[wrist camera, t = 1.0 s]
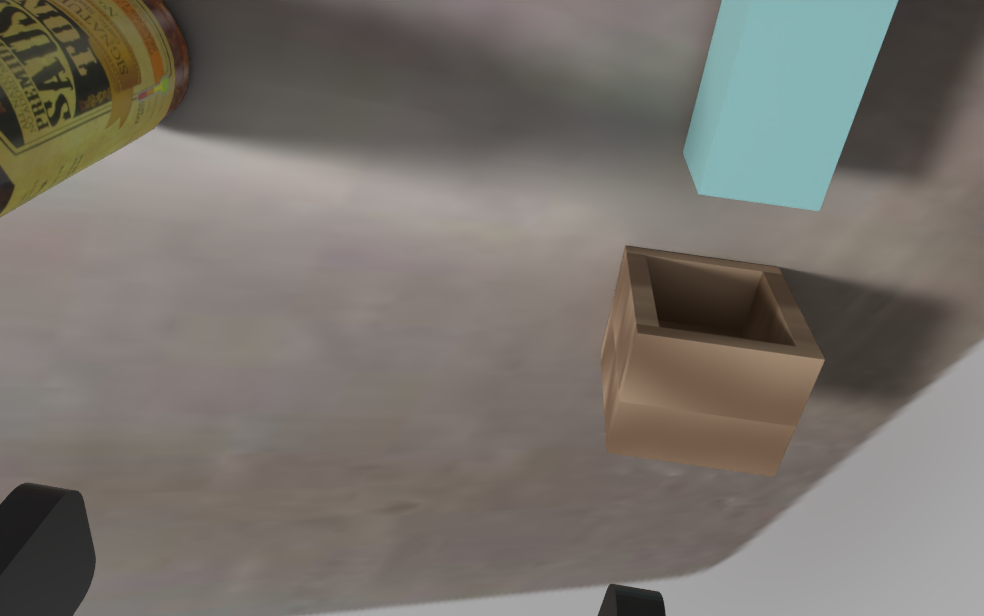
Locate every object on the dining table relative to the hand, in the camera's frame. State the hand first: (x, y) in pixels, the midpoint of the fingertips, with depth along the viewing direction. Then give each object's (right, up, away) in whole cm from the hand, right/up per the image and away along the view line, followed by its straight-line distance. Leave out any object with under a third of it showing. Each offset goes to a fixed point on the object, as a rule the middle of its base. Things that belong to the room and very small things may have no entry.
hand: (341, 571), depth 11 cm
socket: (+11, +4, +21) cm, 24 cm away
